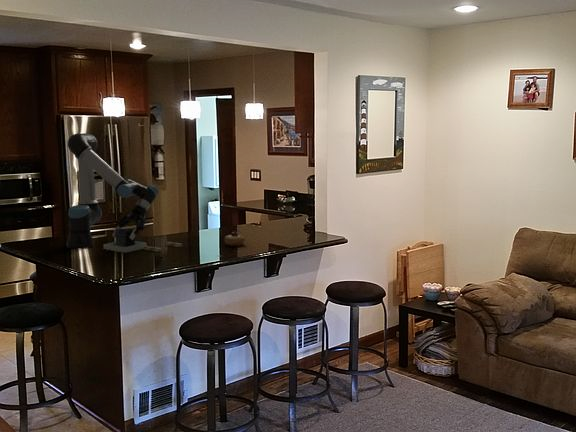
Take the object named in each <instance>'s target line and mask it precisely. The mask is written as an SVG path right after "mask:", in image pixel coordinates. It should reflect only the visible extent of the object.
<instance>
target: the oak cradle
mask: <svg viewBox="0 0 576 432" xmlns="http://www.w3.org/2000/svg"><path fill="white" fill-rule="evenodd" d="M164 242H165V245H164V246H169V247H174V248H183V243H179V242H171V241H164ZM143 250H145V251H150V252H156V253H162V252H163V251H162V247H155V246H148V245H147V246H144V249H143Z"/></svg>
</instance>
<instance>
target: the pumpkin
mask: <svg viewBox="0 0 576 432" xmlns="http://www.w3.org/2000/svg"><path fill="white" fill-rule="evenodd" d="M237 232H239V230H238V229H236V230H235V231H232V232H231V233H230V234H227V235H225V236H224V243H225V245H227V246H229V247H240V246H241V245H242V246H243V245H244V243H245V241H246V238H245V236H242V235H239V234H238V233H237ZM242 246H241V247H242Z"/></svg>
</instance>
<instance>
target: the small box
mask: <svg viewBox="0 0 576 432" xmlns="http://www.w3.org/2000/svg"><path fill="white" fill-rule="evenodd" d="M115 229H116V228H115ZM115 229H114V231H116V238H115V242H116V246H120V247H128V246H133V245H135V241H136V238H135V237H136V236H135V237H134V239H133V240H131V239H130V238H129V237H130V235H131V233H132V232H133V230H134V229H128V228H121V229H116V230H115Z"/></svg>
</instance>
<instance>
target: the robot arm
mask: <svg viewBox="0 0 576 432" xmlns="http://www.w3.org/2000/svg"><path fill="white" fill-rule="evenodd" d="M98 145H99V144H98V140H97V138H96V137H95V136H94V135H92V134H90V133H85V132H84V133H73V134H72V135H70V136H69V138H68V140H67V148H68V149H69V151H70V152H71V153H72V154H73V155H74V158H75V159H77V167H78V181H79V184H78V186H79V197H80V199H79V201H78V202H77V205H72V206H70V207H69V208H68V213H67V214H68V232H69V233H68V237H67V241H66V248H68V249H75V250H78V248H79V249H88V248H87V247H89V248H92V246H93V247H95V241H94V237H93V236H92V233H91V232H92V231H91V226H92V225H95V224H97V223H98V222H99V221H100V220H101V218H102V215H103V212H102V208H100V205H99V200H97V199H96V190H95V188H96V187H95V186H96V185H95V173H97V174H98V175H99V176H100V177H102V179H103V180H104V181H106V182H107V183H108V184H109V185H110V186H111V187H112V188H113V189H114V190H116V192H117V195H118V196H119V197H121V198H130V197H133V196H135V197H137V198H138V200H137V202H136V203H135V205H134V206H133V208H132V212H131V213H129V212H126V214H125V215H124V216H123V217H121V218H120V219H119V220H118V221H117V222H115V225H116V227H115V229H114V231H113V233H112V237H113V238H114V239H116V231H115V230H116V229H123V227H125V226H126V225H128V224H129V223H135V227H134V229H132V230H133V232H132V233H131V235H130V237H129V238H130V239H131V240H133V239H134V237H136V236H137V235H138V233H140V231H143V230H144V229H145V223H146V222H145V221H146V219H147V216H146V214H147V211H148V210H149V209H150V207H151V206H152V204H153V203H154V201H155V199H156V198H157V196H158V194H159V189H158V188H157V187H156V186H155V185H153V184H148V185H147V186H145V185H142V184H140V183H138V182H136V181H134V180H132V179H129V178H128V179H124V178H123V177H122V176H121V175H120V174H119V173H118V172H117V171H116V170H114V169H113V168H112V167H111V166H110V165H109V164H108V163H107V162H106V161H105V160H103V159H102V158H101V157H100V156H99V155H98V154H97V153H96V150H97V149H98Z"/></svg>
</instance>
